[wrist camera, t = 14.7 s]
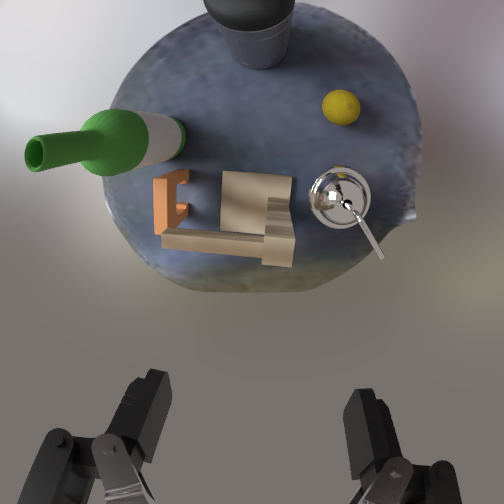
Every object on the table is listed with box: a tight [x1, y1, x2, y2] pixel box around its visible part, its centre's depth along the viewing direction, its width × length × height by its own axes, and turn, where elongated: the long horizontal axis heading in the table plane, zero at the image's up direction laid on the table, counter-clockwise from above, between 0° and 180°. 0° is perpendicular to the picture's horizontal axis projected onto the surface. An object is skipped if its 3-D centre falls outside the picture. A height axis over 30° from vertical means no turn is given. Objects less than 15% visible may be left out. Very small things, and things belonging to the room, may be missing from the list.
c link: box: [153, 169, 189, 235], centre depth 41 cm, size 8×2×10 cm, turn 176°
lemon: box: [322, 90, 360, 125], centre depth 35 cm, size 6×6×8 cm
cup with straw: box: [309, 166, 385, 260], centre depth 35 cm, size 8×9×20 cm
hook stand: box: [161, 171, 295, 267], centre depth 37 cm, size 10×14×20 cm
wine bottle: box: [25, 109, 186, 176], centre depth 29 cm, size 8×8×30 cm
